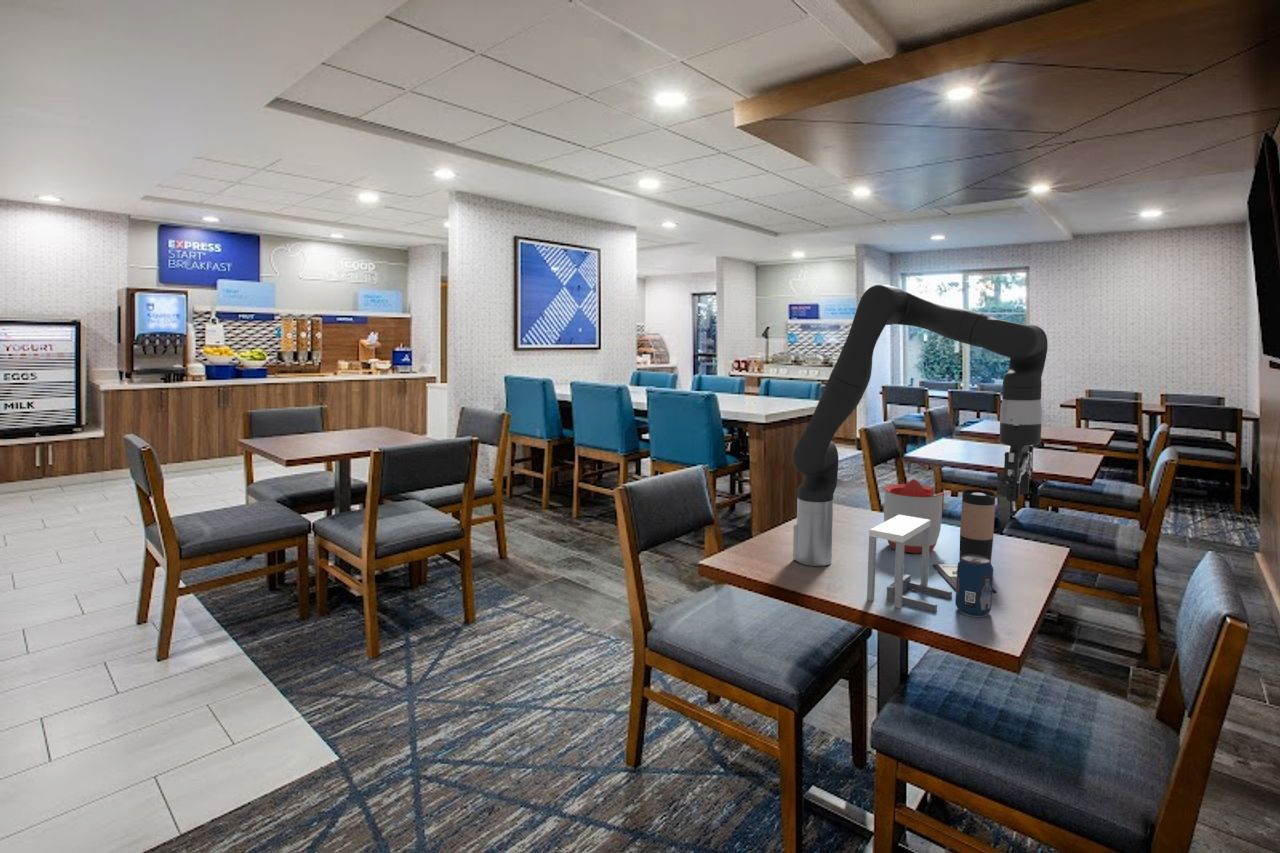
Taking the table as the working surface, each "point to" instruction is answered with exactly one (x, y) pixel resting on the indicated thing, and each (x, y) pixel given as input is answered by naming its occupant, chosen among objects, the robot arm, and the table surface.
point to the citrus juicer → (915, 510)
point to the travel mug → (977, 523)
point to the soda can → (974, 585)
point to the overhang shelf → (901, 531)
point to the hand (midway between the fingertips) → (1017, 497)
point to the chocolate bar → (950, 574)
